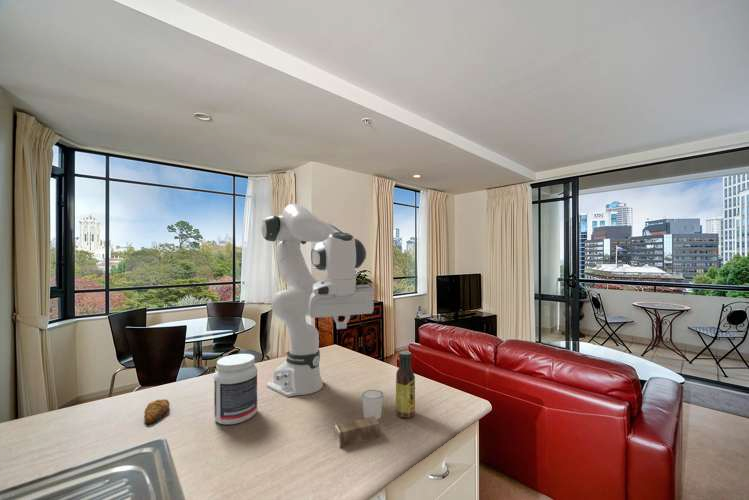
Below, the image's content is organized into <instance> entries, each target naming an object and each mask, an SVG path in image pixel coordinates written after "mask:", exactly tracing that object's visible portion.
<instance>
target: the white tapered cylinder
mask: <svg viewBox="0 0 749 500" xmlns="http://www.w3.org/2000/svg"><path fill="white" fill-rule="evenodd" d="M361 398H362V400H361V401H362V408H363V409H362V411H363V417H364V419H365V418H370V417H375V418H376V419H377V421H379V419H381V418H382V413H383V412H382V410H383V402H384V393H383V392H382V391H381V390H379V389H378V390H377V389H368V390H365V391H363V392H362V393H361Z"/></svg>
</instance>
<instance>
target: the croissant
mask: <svg viewBox="0 0 749 500" xmlns="http://www.w3.org/2000/svg"><path fill="white" fill-rule="evenodd" d="M170 405H171V404H170V402H169V399H165V398H164V399H156V400H154V401H151V402H149V403H148V404H147V405H146V408H145V409H144V412H143V414H144V415H143V416H144V420H145V423H146V425H151V424H153V423H155V422H156V421H158V420H159V419H160V418H161V417H162V416H163V415H165V414H166V412H167V411H168V409H169V407H170Z"/></svg>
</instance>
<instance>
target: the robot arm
mask: <svg viewBox="0 0 749 500" xmlns="http://www.w3.org/2000/svg"><path fill="white" fill-rule="evenodd" d="M260 227H261V228H260V229H261V234H262V237H263V238H264V239H265V240H266V242H267V241H268V242H273V243H274V242H278V243H277V245H276V248H275V255H276V257H275V258H276V262H277V265H278V266H277V267H278V270H279V273H280V276H281V279H282V281H283V283H284V284H285V285H286V286H288V287H290V288H288V289H284V290H280V291H277V292H275V293H274V295H273V296H272V297H271V301H270V307H271V311H272V314H273V315H275V316H276V317H277V318H278V319H279V320H281V321H282V322H283V323H284V325H285V326H286V328H287V331H288V336H289V351H287V352H285V353H284V357H286V356H287V357H286V359H285V361H284V362H282V363H281V364H280V365H279V366H278V367H276V368H275V370H274V371H273V376H272V377H273V378H272V379H270V380H269V381H268V382H267V383H266V387H267V388H269V389H271V390H273V391H275V392H277V393H279V394H280V395H282V396H283V395H284V396H285V397H288V398H289V397H293V396H294V397H295V396H303V395H310V394H313V393H315V392H316V393H317V392H319V390H321V389H322V388H323V386H324V384H323V383H324V382H323V381H322V380H323V379H322V375H321V369H320V359H321V356H320V355H321V353H320V348H319V345H320V343H319V342H320V340H319V338H320V337H319V334H320V333H319V331H318V329H317V328H316V327H315V326H314V325H313V324H311V323H310V324H309V323H307V319H306V317H308V316H309V317H310V318H312V319H316V318H318V319H319V318H328V317H331V318H332V317H333V318H332V319H333V320H334V322H335V324H336V330H345V329H347V324H348V322H349V321H350V319H351V316H355V315H356V316H357V315H369V314H370V315H371V314H372V313H374V309H375V308H374V307H375V305H374V298H373V297H374V296H375V289H374V286H372V285H371V284H370V283H369V284H368V283H367V284H357V274H356V269H359V268H360V267H361V266H362V265H363V264H364V262H365V260H366V258H367V251H366V247H365V245H364V244H363V243H362V241H360V240H359V239H357V238H355V237H354V236H353V235H352V234H351V233H347V232H343V231H342V230H340V229H339V228H337V227H336V226H334V225H332V224H330V223H328V222H327V221H325V220H323V219H321V218H319V217H317V216H315V215H314V214H313V213H312V212H311V211H310V210H309V209H308V208H306V206H305V207H304V206H303V205H300V204H298V203H290V204H288V205H287V206H286V207H284V209H283V211H282V214H281V215H277V214H274V215H270V216H266V217H265V218H264V219H263V220H262V222H261V226H260ZM307 242H308V243H309V242H311V243H315V244H314V245H313V247H312V249H311V251H310V255H311V256H310V257H311V258H310V259H311V264H312V265H313V266H314V267H315V268H316V269H317V270H318V271H323V272H324V271H327V277H326V279H323V280H320V281H318V280H317V279H316V278H315V277H314V276H313V275H312V273H311V272H310V270H309V268H308V264H307V263H306V260H305V257H304V255H303V252H302V250H301V244H302V245H305V244H307ZM342 316H343V317H345V318H344V320H343V321H339V317H342Z"/></svg>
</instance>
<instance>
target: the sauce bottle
mask: <svg viewBox="0 0 749 500" xmlns="http://www.w3.org/2000/svg"><path fill="white" fill-rule="evenodd" d="M398 358H399V367H398V369H397V371H396V378H395V379H396V381H395V411H396V412H395V413H396V415H397V416H398V417H400V418H404V419H410V418H413V417H414V416H415V414H416V413H415V412H416V376H415V374H414V371H413V367H412V352H411V351H407V350H403V351H402V350H401V351H399V353H398Z"/></svg>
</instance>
